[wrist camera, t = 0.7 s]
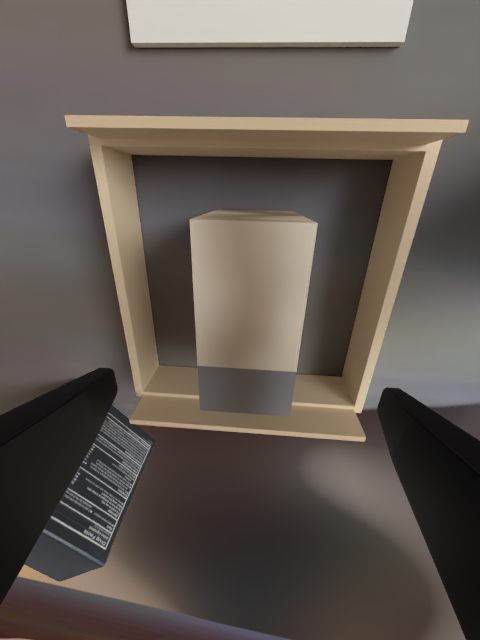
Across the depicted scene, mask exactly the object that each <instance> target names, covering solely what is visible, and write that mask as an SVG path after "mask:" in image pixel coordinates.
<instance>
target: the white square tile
mask: <svg viewBox="0 0 480 640" xmlns="http://www.w3.org/2000/svg"><path fill="white" fill-rule="evenodd" d="M126 2H127V11H128V19H129V28H130V37H131V43H132V44H133V46H134V47H135V48H160V47H400V46H401V45H402V44H403V43H404V42H405V37H406V32H407V28H408V23H409V19H410V14H411V9H412V5H413V0H126Z"/></svg>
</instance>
